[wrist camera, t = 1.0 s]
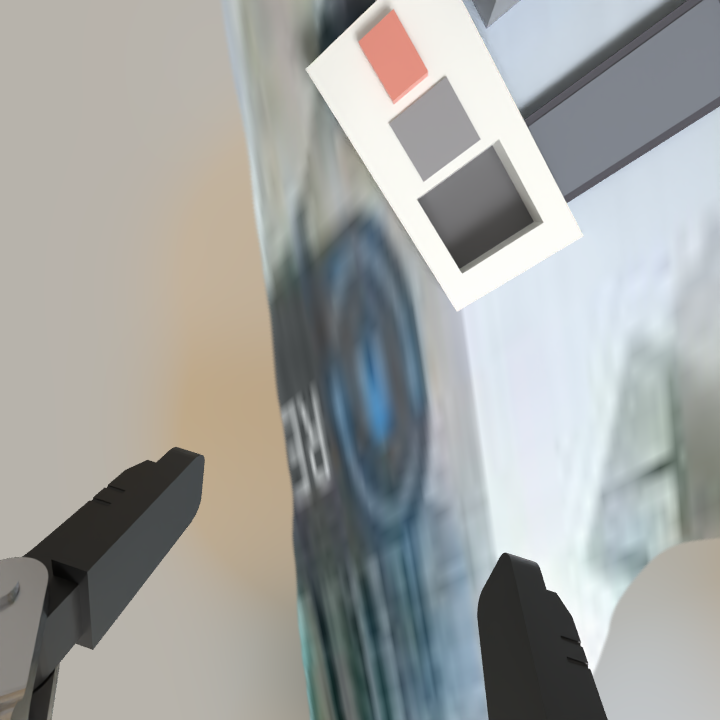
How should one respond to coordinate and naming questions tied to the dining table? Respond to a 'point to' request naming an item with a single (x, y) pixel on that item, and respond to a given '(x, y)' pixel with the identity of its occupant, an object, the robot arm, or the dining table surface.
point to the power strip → (445, 143)
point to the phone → (632, 99)
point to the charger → (493, 9)
